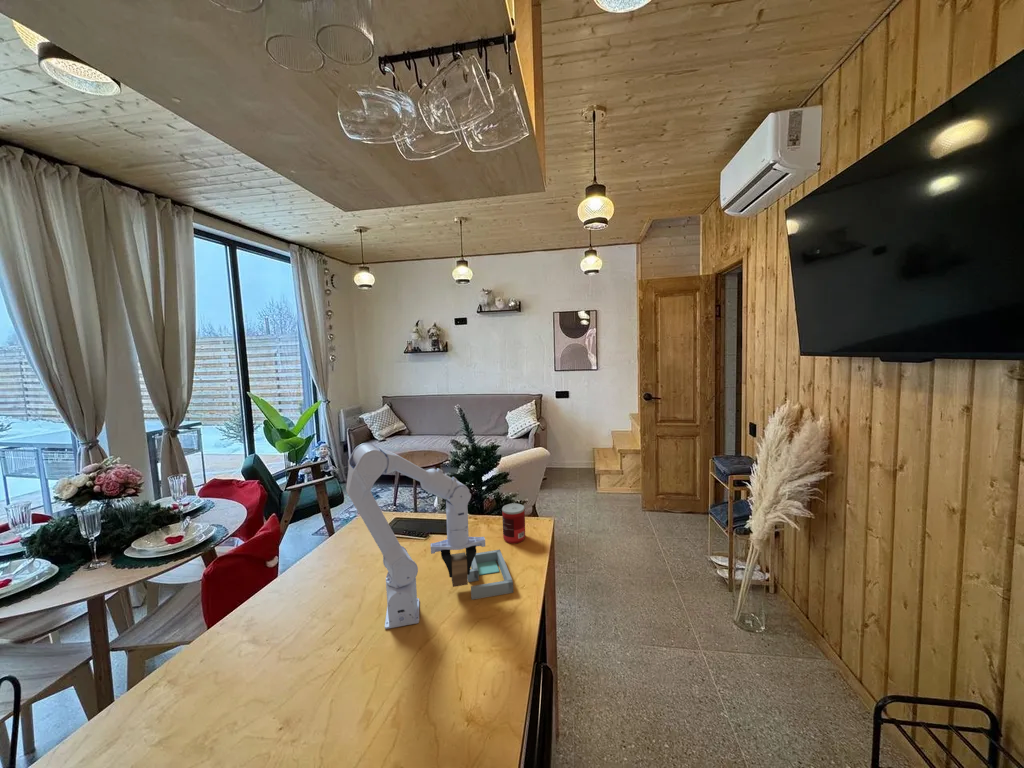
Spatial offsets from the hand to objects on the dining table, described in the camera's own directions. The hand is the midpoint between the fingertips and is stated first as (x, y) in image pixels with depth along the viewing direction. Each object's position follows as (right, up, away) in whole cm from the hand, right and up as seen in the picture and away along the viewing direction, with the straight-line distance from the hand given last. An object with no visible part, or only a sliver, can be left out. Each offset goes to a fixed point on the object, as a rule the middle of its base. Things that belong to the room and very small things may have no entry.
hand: (459, 574), depth 109 cm
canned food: (+15, -2, +29) cm, 33 cm away
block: (0, -2, 0) cm, 2 cm away
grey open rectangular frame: (+8, -4, +6) cm, 11 cm away
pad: (+7, -4, +11) cm, 14 cm away
